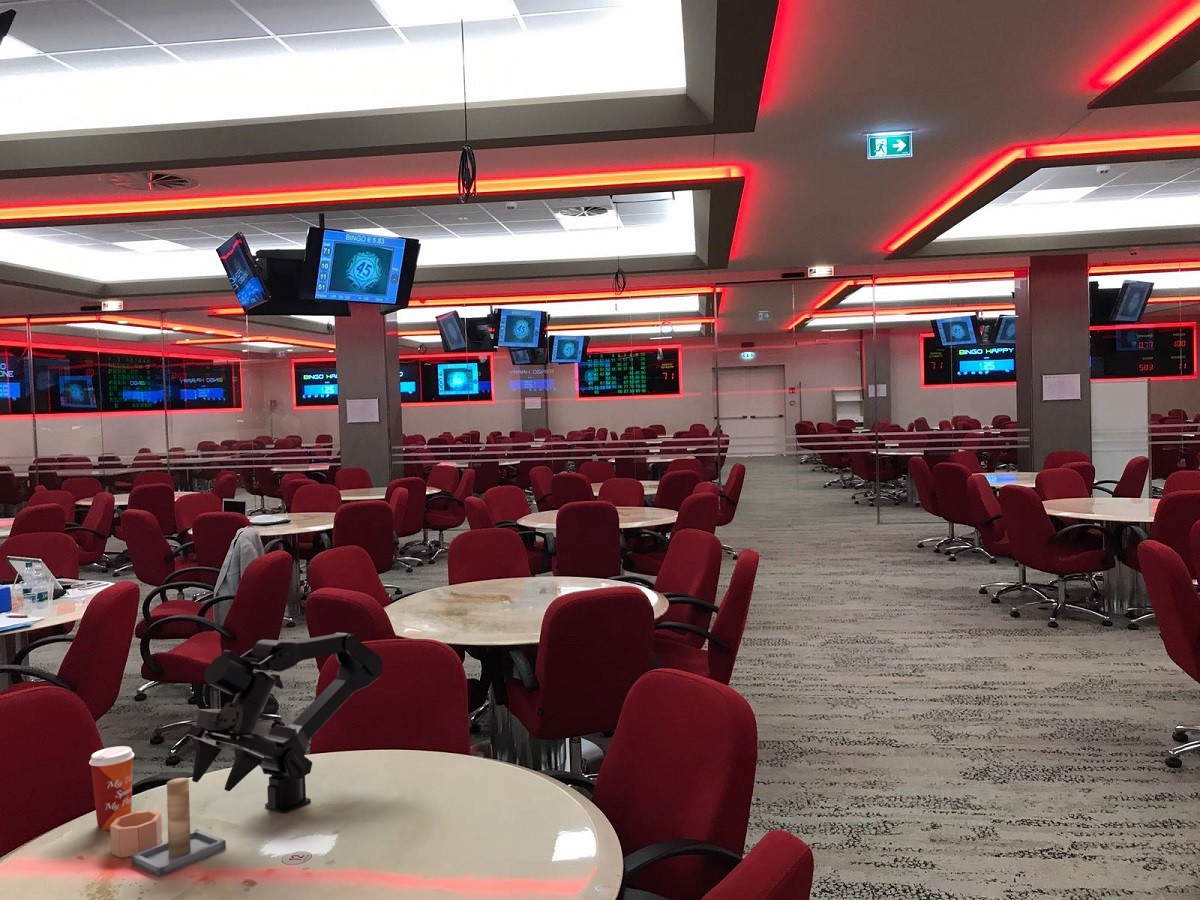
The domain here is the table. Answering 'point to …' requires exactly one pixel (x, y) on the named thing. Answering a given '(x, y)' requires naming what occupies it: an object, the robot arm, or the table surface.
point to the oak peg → (178, 817)
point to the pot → (135, 833)
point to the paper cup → (112, 783)
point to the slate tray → (162, 863)
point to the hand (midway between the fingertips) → (210, 786)
